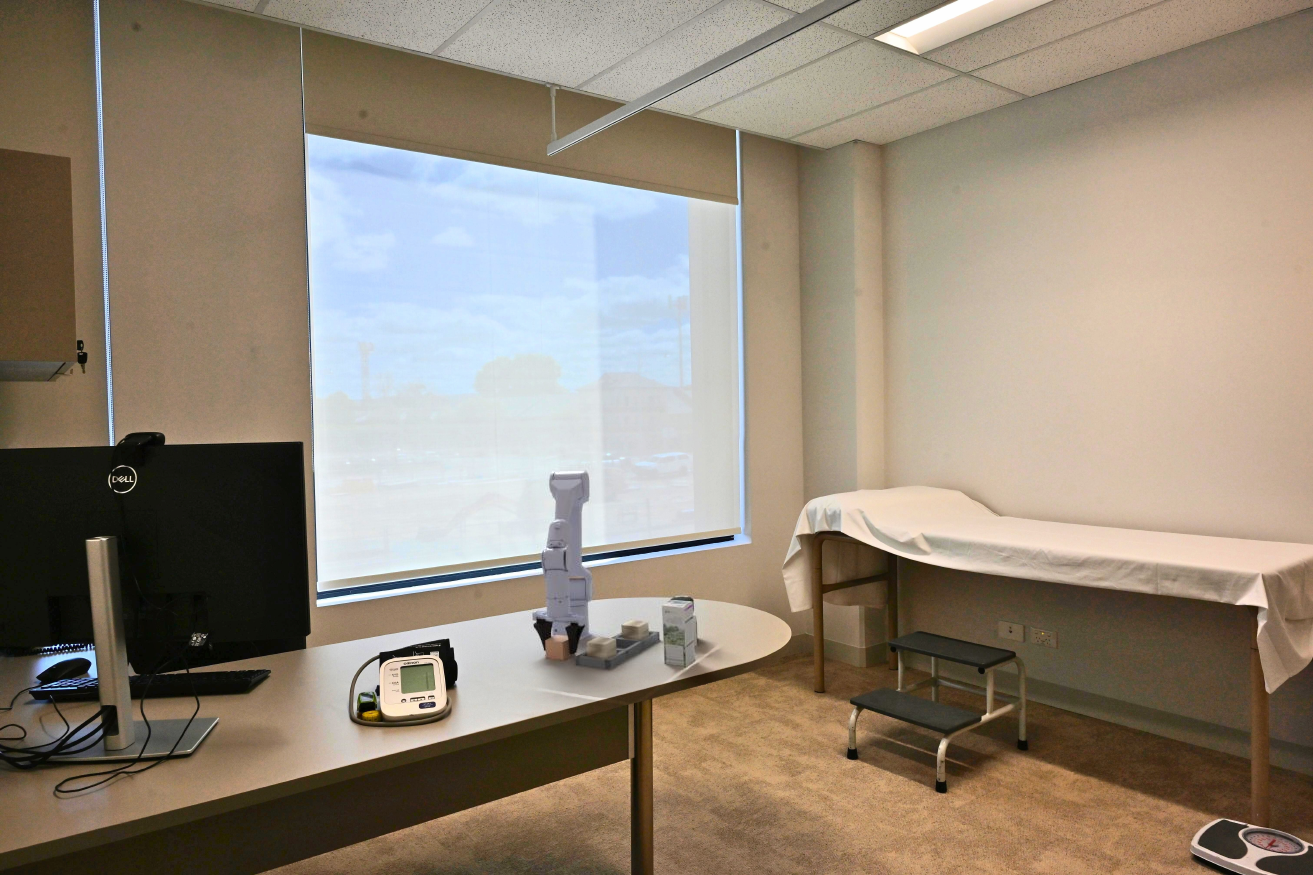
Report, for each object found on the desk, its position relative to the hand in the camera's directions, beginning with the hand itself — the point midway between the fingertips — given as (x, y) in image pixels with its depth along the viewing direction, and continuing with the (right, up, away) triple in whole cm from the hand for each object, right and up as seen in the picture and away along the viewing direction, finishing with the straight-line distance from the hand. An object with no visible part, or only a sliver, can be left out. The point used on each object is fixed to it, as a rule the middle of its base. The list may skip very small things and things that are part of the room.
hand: (560, 651), depth 199 cm
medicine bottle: (+30, 0, +8) cm, 31 cm away
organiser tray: (+14, -1, +1) cm, 15 cm away
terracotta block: (0, -2, 0) cm, 2 cm away
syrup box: (+29, -1, -7) cm, 30 cm away
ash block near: (+11, -1, -6) cm, 12 cm away
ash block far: (+18, 0, +8) cm, 20 cm away
